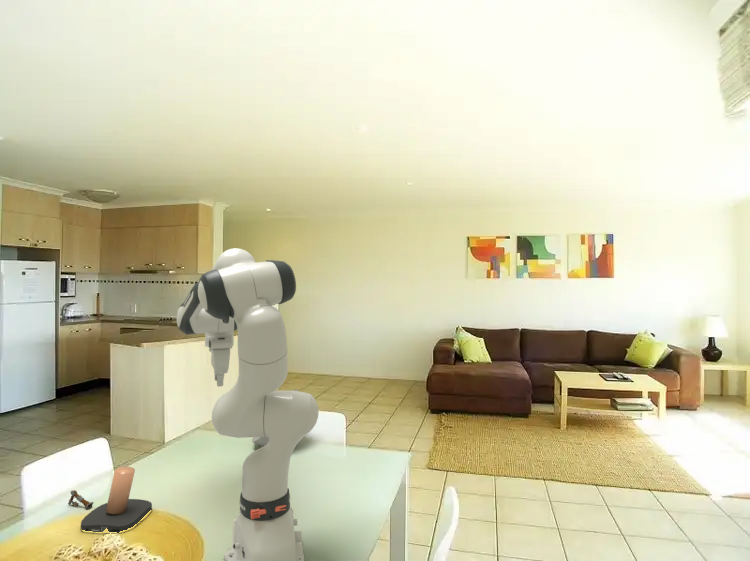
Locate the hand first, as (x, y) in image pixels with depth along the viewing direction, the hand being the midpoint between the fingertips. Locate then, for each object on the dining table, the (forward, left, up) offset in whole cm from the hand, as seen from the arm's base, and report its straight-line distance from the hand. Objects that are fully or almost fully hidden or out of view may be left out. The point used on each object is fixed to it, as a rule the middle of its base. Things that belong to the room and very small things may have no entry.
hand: (218, 383), depth 143 cm
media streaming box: (-9, +27, -35) cm, 45 cm away
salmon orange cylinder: (-9, +27, -31) cm, 42 cm away
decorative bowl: (+31, -34, -30) cm, 55 cm away
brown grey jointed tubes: (+3, +38, -34) cm, 51 cm away
